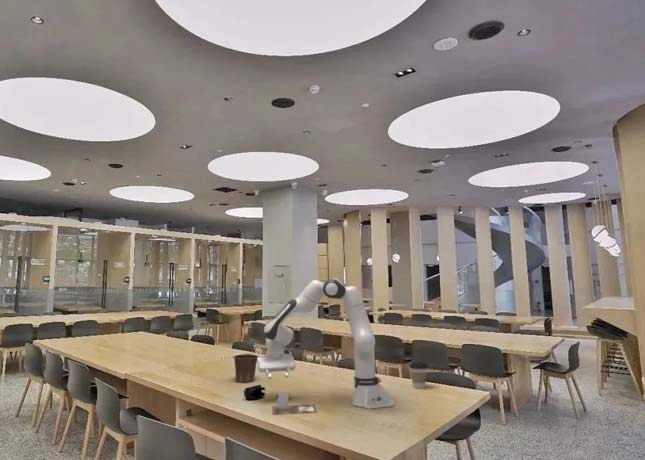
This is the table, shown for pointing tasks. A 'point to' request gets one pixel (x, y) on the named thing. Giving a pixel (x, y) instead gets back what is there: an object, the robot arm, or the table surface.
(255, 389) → the end cap
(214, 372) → the table surface
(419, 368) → the coffee cup
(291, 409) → the walnut board
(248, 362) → the plant pot
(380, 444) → the table surface
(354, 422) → the table surface
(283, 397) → the tall grey pillar
